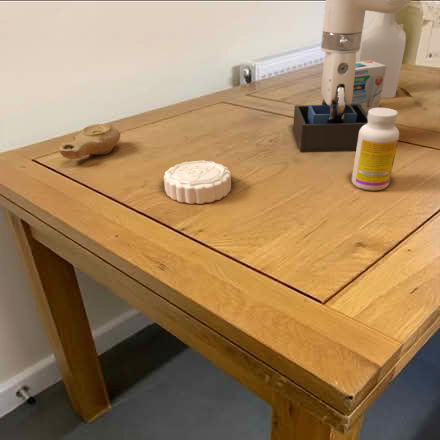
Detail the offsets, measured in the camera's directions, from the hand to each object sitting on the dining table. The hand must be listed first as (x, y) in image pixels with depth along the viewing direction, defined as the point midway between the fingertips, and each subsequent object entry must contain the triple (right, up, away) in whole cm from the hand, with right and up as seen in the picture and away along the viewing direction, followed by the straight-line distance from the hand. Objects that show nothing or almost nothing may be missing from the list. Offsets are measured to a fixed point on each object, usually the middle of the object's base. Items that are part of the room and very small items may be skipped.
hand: (329, 131), depth 102 cm
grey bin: (0, -1, +1) cm, 2 cm away
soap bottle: (+18, +20, +28) cm, 39 cm away
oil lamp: (-51, -6, -2) cm, 51 cm away
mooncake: (-28, -17, -17) cm, 37 cm away
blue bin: (0, -1, +1) cm, 1 cm away
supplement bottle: (+3, -16, -17) cm, 23 cm away
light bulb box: (+10, +11, +18) cm, 23 cm away
